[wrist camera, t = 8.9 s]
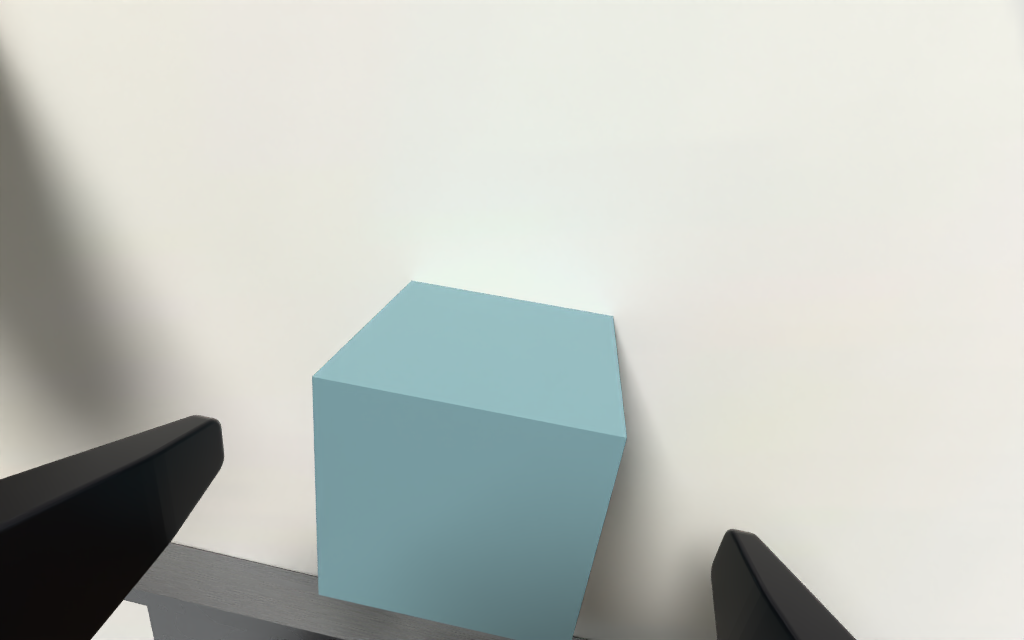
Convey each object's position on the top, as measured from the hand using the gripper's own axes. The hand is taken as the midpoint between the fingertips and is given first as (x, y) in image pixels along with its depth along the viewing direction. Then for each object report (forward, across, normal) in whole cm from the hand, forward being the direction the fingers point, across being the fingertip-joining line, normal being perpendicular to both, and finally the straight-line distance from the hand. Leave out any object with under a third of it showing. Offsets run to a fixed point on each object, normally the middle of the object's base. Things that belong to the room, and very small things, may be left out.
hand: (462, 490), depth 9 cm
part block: (+4, 0, 0) cm, 4 cm away
